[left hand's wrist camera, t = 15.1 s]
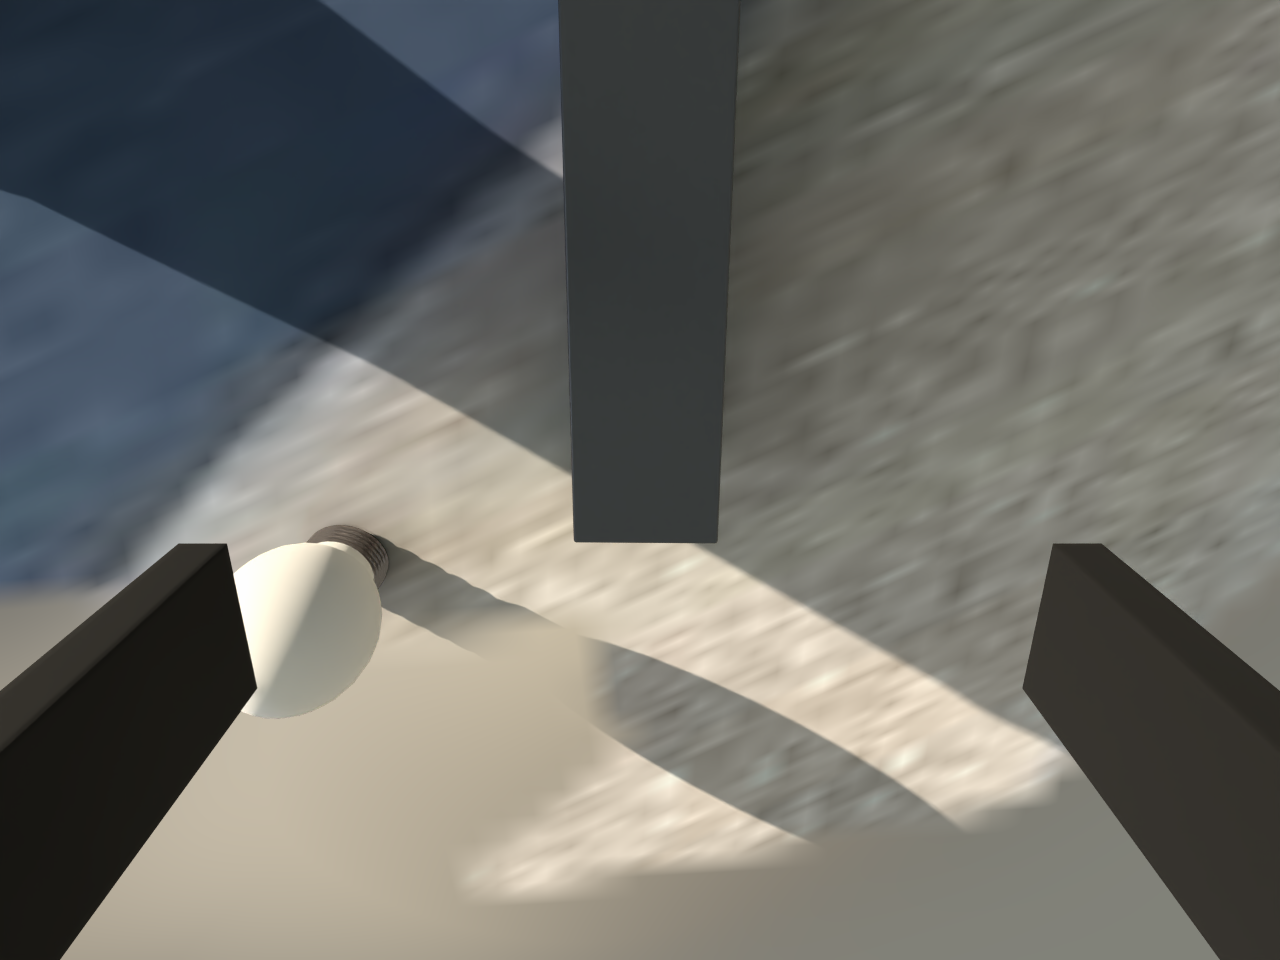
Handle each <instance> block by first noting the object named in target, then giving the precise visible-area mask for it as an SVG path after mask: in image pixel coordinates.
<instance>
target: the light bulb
mask: <svg viewBox="0 0 1280 960" xmlns="http://www.w3.org/2000/svg"><path fill="white" fill-rule="evenodd" d="M388 564H389V562H388V556H387V553H386V551H385V549H384V547H383V546H382V544H381V543H380V542H379V541H378V540H377V539H376V538H375V537H373V536H372V535H371V534H369V533H367V532H365V531H363V530H361V529H359V528H355V527H351V526H345V525H335V526H330V527H326V528H323V529H321V530H319V531H318V532H316V533H315V534H314V535H313V536H312V537H311V538H310V539H309V540H308V541H307V543H300V544H292V545H285V546H281V547H278V548H276V549H273V550H270V551H268V552H265V553H263V554H261V555H259V556H257V557H256V558H254V559H252V560H251V561H249V562H248V563H246V564H245V565H244V566H242V567H241V568H240V569H238V570H237V571H236V572H235V573H234V574H233V575H234V580H235V585H236V589H237V594H238V599H239V603H240V608H241V613H242V618H243V622H244V627H245V632H246V637H247V641H248V646H249V651H250V655H251V660H252V665H253V670H254V674H255V679H256V684H257V690H256V691H255V692H254V694H253V695H252V696H251V698H250V699H249V701H248V702H247V703H246V705H245V706H244V707H243V709H242V710H241V711H242V712H245V713H247V714H250V715H253V716H257V717H262V718H269V719H280V718H288V717H294V716H300V715H303V714H306V713H309V712H312V711H314V710H316V709H318V708H320V707H322V706H324V705H326V704H328V703H329V702H331V701H333V700H334V699H336V698H337V697H338V696H339V695H340V694H342V693H343V692H344V691H345V690H346V689H347V688H349V687H350V686H351V685H352V684H353V683H354V682H355V681H356V679H357V678H358V677H359V675H360V674H361V673H362V671H363V670H364V668H365V667H366V666H367V664H368V663H369V662H370V659H371V657H372V654H373V652H374V650H375V647H376V645H377V642H378V640H379V635H380V628H381V621H382V608H381V601H380V596H379V593H378V588H379V587H380V585H381V584H382V582H383V580H384V579H385V576H386V573H387V570H388Z"/></svg>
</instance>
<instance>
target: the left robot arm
mask: <svg viewBox="0 0 1280 960" xmlns="http://www.w3.org/2000/svg"><path fill="white" fill-rule="evenodd" d="M256 690H257V684H256V679H255V674H254V670H253V665H252V660H251V655H250V651H249V646H248V641H247V637H246V632H245V627H244V622H243V618H242V613H241V608H240V603H239V599H238V594H237V589H236V585H235V580H234V575H233V570H232V566H231V561H230V556H229V552H228V547H227V544H178V545H176V546H175V547H174V548H173V549H172V550H170V551H169V552H168V553H167V554H165V555H164V556H163V557H162V558H161V559H159V560H158V561H157V562H156V563H155V564H153V565H152V566H151V567H150V568H149V569H147V570H146V571H145V572H144V573H142V574H141V575H140V576H139V577H138V578H136V579H135V580H134V581H133V582H132V583H130V584H129V585H128V586H127V587H126V588H124V589H123V590H122V591H121V592H119V593H118V594H117V595H116V596H115V597H113V598H112V599H111V600H110V601H109V602H107V603H106V604H105V605H104V606H103V607H101V608H100V609H99V610H98V611H96V612H95V613H94V614H93V615H92V616H90V617H89V618H88V619H87V620H86V621H84V622H83V623H82V624H81V625H80V626H78V627H77V628H76V629H75V630H73V631H72V632H71V633H70V634H69V635H67V636H66V637H65V638H64V639H63V640H61V641H60V642H59V643H58V644H57V645H55V646H54V647H53V648H52V649H50V650H49V651H48V652H47V653H46V654H44V655H43V656H42V657H41V658H40V659H38V660H37V661H36V662H35V663H34V664H32V665H31V666H30V667H29V668H27V669H26V670H25V671H24V672H23V673H21V674H20V675H19V676H18V677H17V678H15V679H14V680H13V681H12V682H11V683H9V684H8V685H7V686H6V687H4V688H3V689H2V690H1V691H0V960H60V959H61V958H62V956H63V955H64V953H65V952H66V951H67V949H68V948H69V947H70V945H71V944H72V942H73V941H74V940H75V938H76V937H77V936H78V934H79V933H80V931H81V930H82V929H83V927H84V926H85V925H86V923H87V922H88V921H89V919H90V918H91V916H92V915H93V914H94V912H95V911H96V909H97V908H98V907H99V905H100V904H101V903H102V901H103V900H104V899H105V897H106V896H107V894H108V893H109V892H110V890H111V889H112V888H113V886H114V885H115V883H116V882H117V881H118V879H119V878H120V877H121V875H122V874H123V872H124V871H125V870H126V868H127V867H128V866H129V864H130V863H131V861H132V860H133V859H134V857H135V856H136V855H137V853H138V852H139V850H140V849H141V848H142V846H143V845H144V844H145V842H146V841H147V839H148V838H149V837H150V835H151V834H152V833H153V831H154V830H155V828H156V827H157V826H158V824H159V823H160V822H161V820H162V819H163V817H164V816H165V815H166V813H167V812H168V811H169V809H170V808H171V806H172V805H173V804H174V802H175V801H176V800H177V798H178V797H179V795H180V794H181V793H182V791H183V790H184V789H185V787H186V786H187V784H188V783H189V782H190V780H191V779H192V778H193V776H194V775H195V773H196V772H197V771H198V769H199V768H200V767H201V765H202V764H203V762H204V761H205V760H206V758H207V757H208V756H209V754H210V753H211V751H212V750H213V749H214V747H215V746H216V745H217V743H218V742H219V740H220V739H221V738H222V736H223V735H224V734H225V732H226V731H227V729H228V728H229V727H230V725H231V724H232V723H233V721H234V720H235V718H236V717H237V716H238V714H239V713H240V712H241V710H242V709H243V707H244V706H245V705H246V703H247V702H248V701H249V699H250V698H251V696H252V695H253V694H254V692H255V691H256ZM1023 690H1024V691H1025V692H1026V694H1027V695H1028V696H1029V698H1030V699H1031V701H1032V702H1033V703H1034V705H1035V706H1036V707H1037V709H1038V710H1039V712H1040V713H1041V714H1042V716H1043V717H1044V718H1045V720H1046V721H1047V723H1048V724H1049V725H1050V727H1051V728H1052V729H1053V731H1054V732H1055V734H1056V735H1057V736H1058V738H1059V739H1060V740H1061V742H1062V743H1063V745H1064V746H1065V747H1066V749H1067V750H1068V751H1069V753H1070V754H1071V756H1072V757H1073V758H1074V760H1075V761H1076V762H1077V764H1078V765H1079V767H1080V768H1081V769H1082V771H1083V772H1084V773H1085V775H1086V776H1087V778H1088V779H1089V780H1090V782H1091V783H1092V784H1093V786H1094V787H1095V789H1096V790H1097V791H1098V793H1099V794H1100V795H1101V797H1102V798H1103V800H1104V801H1105V802H1106V804H1107V805H1108V806H1109V808H1110V809H1111V811H1112V812H1113V813H1114V815H1115V816H1116V817H1117V819H1118V820H1119V822H1120V823H1121V824H1122V826H1123V827H1124V828H1125V830H1126V831H1127V832H1128V834H1129V835H1130V837H1131V838H1132V839H1133V841H1134V842H1135V844H1136V845H1137V846H1138V848H1139V849H1140V850H1141V852H1142V853H1143V855H1144V856H1145V857H1146V859H1147V860H1148V861H1149V863H1150V864H1151V866H1152V867H1153V868H1154V870H1155V871H1156V872H1157V874H1158V875H1159V877H1160V878H1161V879H1162V881H1163V882H1164V883H1165V885H1166V886H1167V888H1168V889H1169V890H1170V892H1171V893H1172V894H1173V896H1174V897H1175V899H1176V900H1177V901H1178V903H1179V904H1180V905H1181V907H1182V908H1183V910H1184V911H1185V912H1186V914H1187V915H1188V916H1189V918H1190V919H1191V921H1192V922H1193V923H1194V925H1195V926H1196V927H1197V929H1198V930H1199V932H1200V933H1201V934H1202V936H1203V937H1204V938H1205V940H1206V941H1207V943H1208V944H1209V945H1210V947H1211V948H1212V949H1213V951H1214V952H1215V954H1216V955H1217V956H1218V958H1219V959H1220V960H1280V691H1279V690H1278V689H1277V688H1276V687H1274V686H1273V685H1272V684H1271V683H1269V682H1268V681H1267V680H1266V679H1265V678H1263V677H1262V676H1261V675H1260V674H1259V673H1257V672H1256V671H1255V670H1254V669H1253V668H1251V667H1250V666H1249V665H1248V664H1246V663H1245V662H1244V661H1243V660H1242V659H1240V658H1239V657H1238V656H1237V655H1236V654H1234V653H1233V652H1232V651H1231V650H1230V649H1228V648H1227V647H1226V646H1225V645H1223V644H1222V643H1221V642H1220V641H1219V640H1217V639H1216V638H1215V637H1214V636H1213V635H1211V634H1210V633H1209V632H1208V631H1207V630H1205V629H1204V628H1203V627H1202V626H1200V625H1199V624H1198V623H1197V622H1196V621H1194V620H1193V619H1192V618H1191V617H1190V616H1188V615H1187V614H1186V613H1185V612H1184V611H1182V610H1181V609H1180V608H1179V607H1177V606H1176V605H1175V604H1174V603H1173V602H1171V601H1170V600H1169V599H1168V598H1167V597H1165V596H1164V595H1163V594H1162V593H1161V592H1159V591H1158V590H1157V589H1156V588H1154V587H1153V586H1152V585H1151V584H1150V583H1148V582H1147V581H1146V580H1145V579H1144V578H1142V577H1141V576H1140V575H1139V574H1138V573H1136V572H1135V571H1134V570H1133V569H1131V568H1130V567H1129V566H1128V565H1127V564H1125V563H1124V562H1123V561H1122V560H1121V559H1119V558H1118V557H1117V556H1116V555H1115V554H1113V553H1112V552H1111V551H1110V550H1108V549H1107V548H1106V547H1105V546H1104V545H1102V544H1053V547H1052V552H1051V556H1050V561H1049V566H1048V570H1047V575H1046V580H1045V585H1044V589H1043V594H1042V599H1041V603H1040V608H1039V613H1038V618H1037V622H1036V627H1035V632H1034V637H1033V641H1032V646H1031V651H1030V655H1029V660H1028V665H1027V670H1026V674H1025V679H1024V684H1023Z"/></svg>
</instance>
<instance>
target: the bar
mask: <svg viewBox="0 0 1280 960" xmlns="http://www.w3.org/2000/svg"><path fill="white" fill-rule="evenodd" d="M558 9H559V43H560V78H561V113H562V147H563V182H564V216H565V251H566V285H567V320H568V354H569V389H570V423H571V458H572V493H573V527H574V541H575V542H611V543H717V541H718V518H719V495H720V471H721V447H722V423H723V400H724V376H725V352H726V329H727V305H728V281H729V257H730V234H731V210H732V186H733V162H734V139H735V115H736V91H737V68H738V44H739V20H740V0H558Z"/></svg>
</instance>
